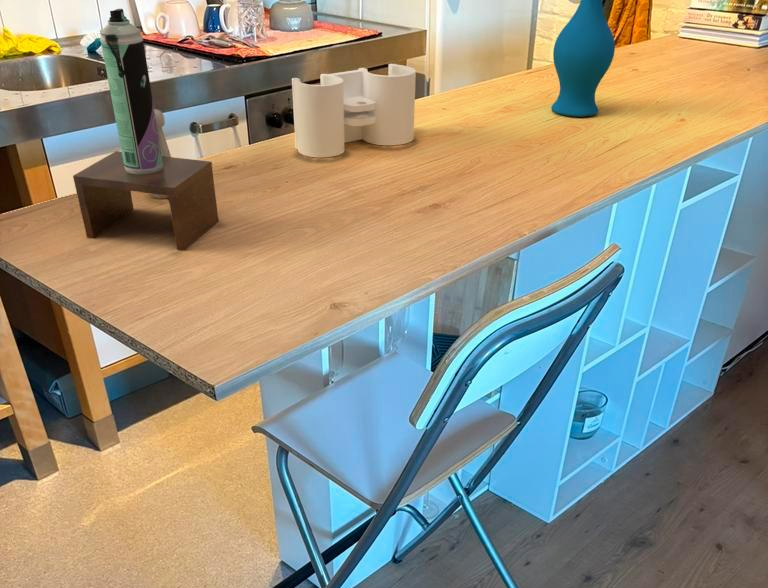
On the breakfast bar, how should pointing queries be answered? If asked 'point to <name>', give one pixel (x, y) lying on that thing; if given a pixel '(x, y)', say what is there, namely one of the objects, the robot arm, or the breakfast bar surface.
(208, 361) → the breakfast bar surface
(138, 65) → the spray can
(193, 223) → the shelf
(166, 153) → the salt shaker
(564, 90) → the vase
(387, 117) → the bracket
